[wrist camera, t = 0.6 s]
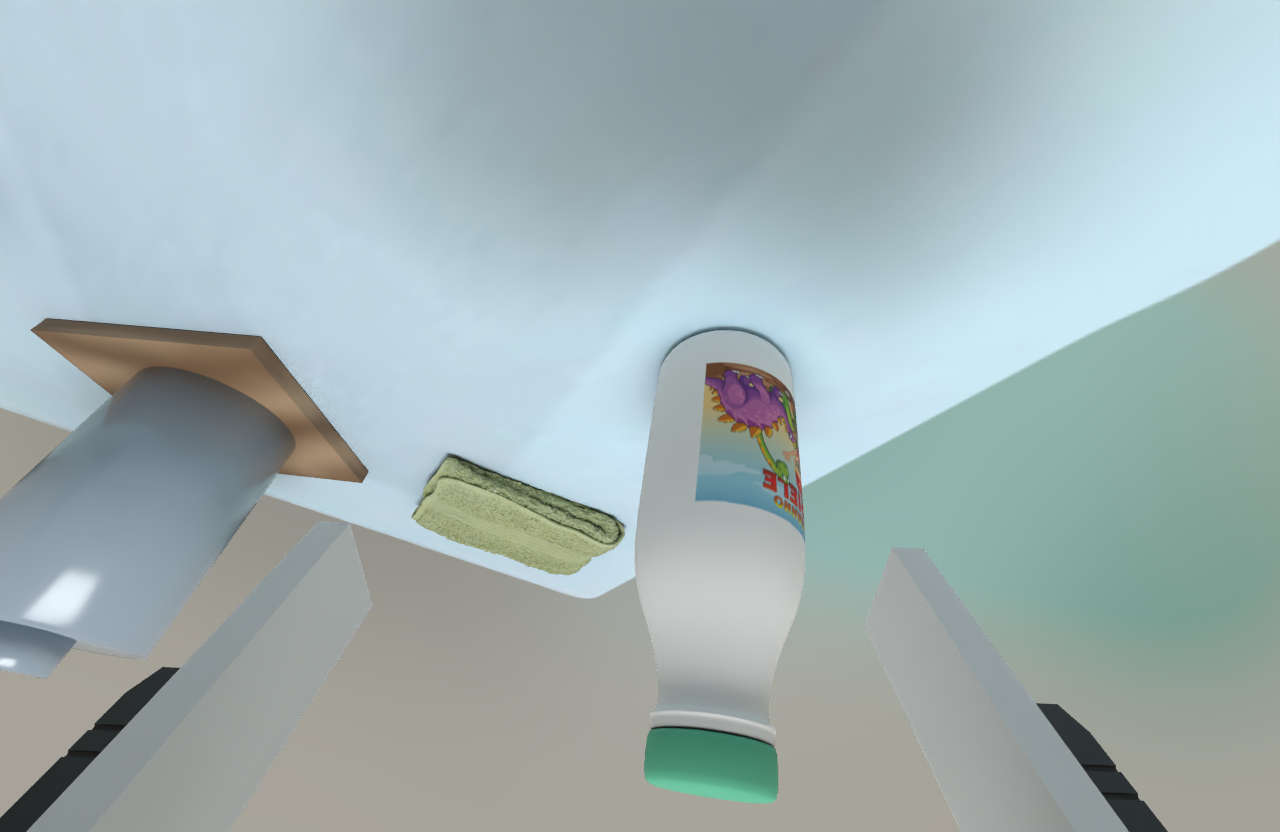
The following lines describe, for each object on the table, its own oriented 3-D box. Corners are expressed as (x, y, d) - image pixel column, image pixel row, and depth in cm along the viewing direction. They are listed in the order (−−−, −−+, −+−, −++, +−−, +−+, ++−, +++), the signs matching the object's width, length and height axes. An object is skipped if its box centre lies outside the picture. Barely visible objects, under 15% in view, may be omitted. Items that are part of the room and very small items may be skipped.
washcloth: (445, 442, 40) (429, 476, 38) (633, 517, 46) (628, 549, 44) (417, 503, 49) (403, 532, 47) (576, 558, 55) (569, 587, 53)
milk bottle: (702, 429, 34) (678, 797, 21) (633, 358, 29) (550, 767, 17) (813, 392, 30) (865, 823, 17) (752, 302, 25) (761, 791, 13)
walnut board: (46, 318, 34) (30, 330, 33) (260, 336, 32) (249, 349, 32) (207, 453, 46) (198, 464, 45) (368, 471, 45) (361, 482, 44)
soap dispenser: (95, 360, 35) (-218, 624, 23) (238, 373, 34) (-18, 656, 22) (204, 451, 43) (12, 677, 32) (321, 464, 42) (165, 702, 31)
